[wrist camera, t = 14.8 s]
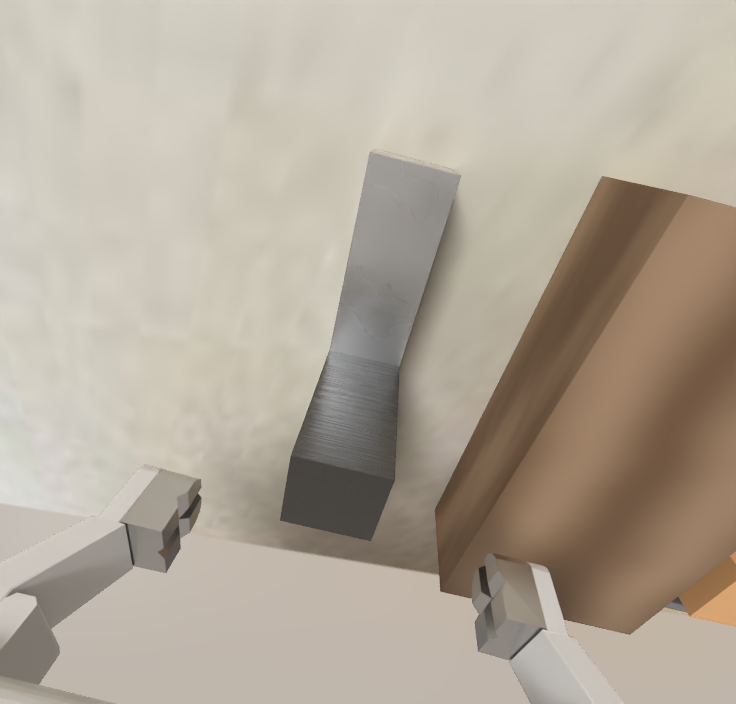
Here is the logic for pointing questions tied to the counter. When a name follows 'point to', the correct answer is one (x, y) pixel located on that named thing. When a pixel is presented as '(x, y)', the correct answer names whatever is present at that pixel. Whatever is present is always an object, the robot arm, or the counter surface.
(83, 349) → the counter surface
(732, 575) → the block
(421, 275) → the grey stick with cube
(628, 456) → the ledge
